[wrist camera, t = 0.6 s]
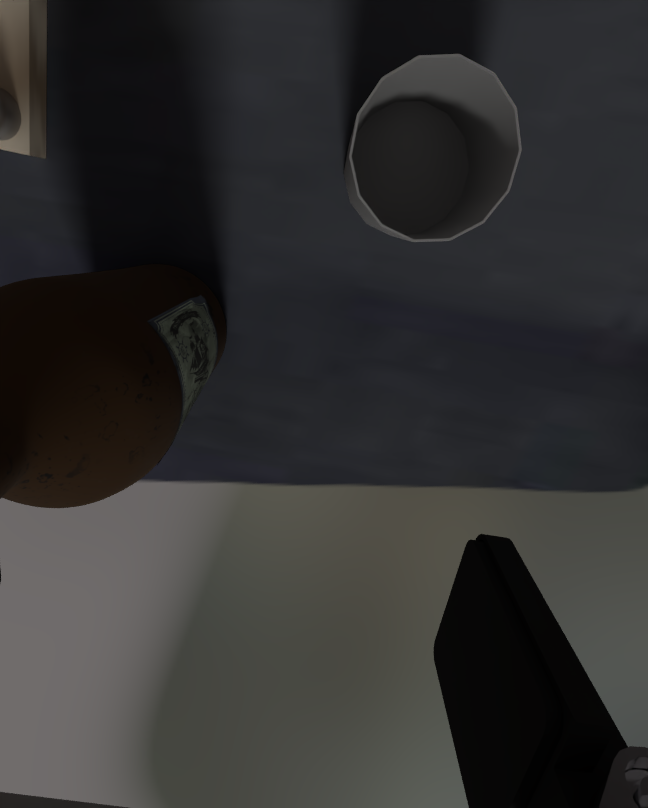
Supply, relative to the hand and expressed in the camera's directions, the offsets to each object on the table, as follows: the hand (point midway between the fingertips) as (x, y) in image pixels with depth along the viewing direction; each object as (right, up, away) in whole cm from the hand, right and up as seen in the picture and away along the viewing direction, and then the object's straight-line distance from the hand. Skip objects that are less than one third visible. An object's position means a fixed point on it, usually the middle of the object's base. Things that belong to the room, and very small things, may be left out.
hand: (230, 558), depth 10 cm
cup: (+7, +19, +24) cm, 32 cm away
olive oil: (-10, +9, +28) cm, 31 cm away
